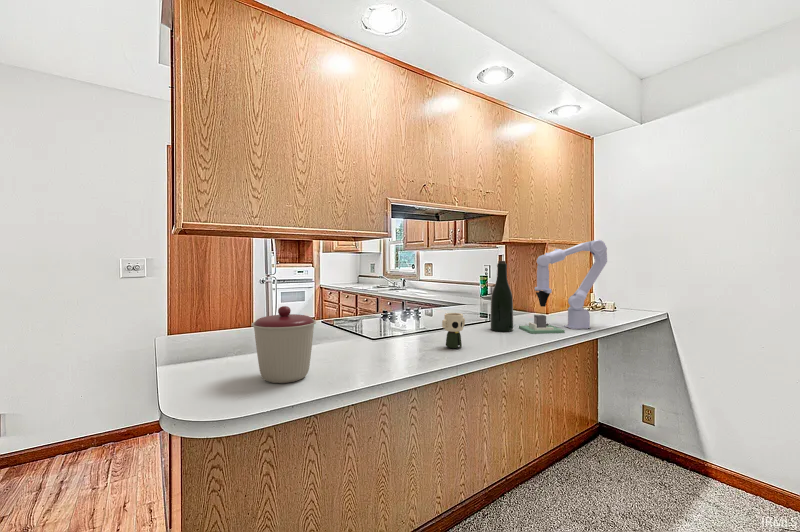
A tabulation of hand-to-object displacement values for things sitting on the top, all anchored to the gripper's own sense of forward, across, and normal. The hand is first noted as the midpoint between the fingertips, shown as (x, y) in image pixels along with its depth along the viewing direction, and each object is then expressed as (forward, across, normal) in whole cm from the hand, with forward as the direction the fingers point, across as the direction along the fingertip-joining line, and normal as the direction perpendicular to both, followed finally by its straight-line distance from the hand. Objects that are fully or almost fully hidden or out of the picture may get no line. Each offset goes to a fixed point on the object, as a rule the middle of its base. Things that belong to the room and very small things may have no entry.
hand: (542, 306), depth 204 cm
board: (+10, +11, -6) cm, 16 cm away
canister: (+10, +74, -113) cm, 135 cm away
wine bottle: (+10, +8, -24) cm, 27 cm away
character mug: (+10, +41, -55) cm, 69 cm away
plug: (+8, +13, -7) cm, 17 cm away
